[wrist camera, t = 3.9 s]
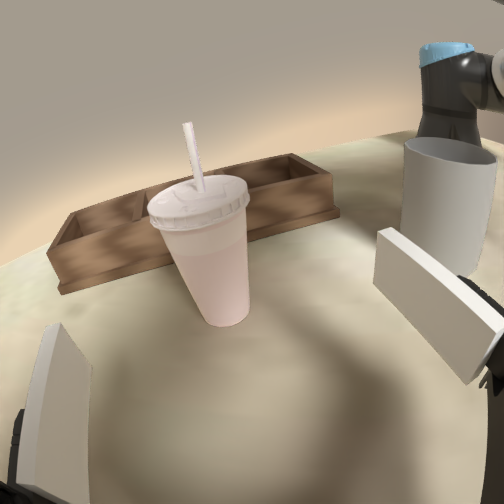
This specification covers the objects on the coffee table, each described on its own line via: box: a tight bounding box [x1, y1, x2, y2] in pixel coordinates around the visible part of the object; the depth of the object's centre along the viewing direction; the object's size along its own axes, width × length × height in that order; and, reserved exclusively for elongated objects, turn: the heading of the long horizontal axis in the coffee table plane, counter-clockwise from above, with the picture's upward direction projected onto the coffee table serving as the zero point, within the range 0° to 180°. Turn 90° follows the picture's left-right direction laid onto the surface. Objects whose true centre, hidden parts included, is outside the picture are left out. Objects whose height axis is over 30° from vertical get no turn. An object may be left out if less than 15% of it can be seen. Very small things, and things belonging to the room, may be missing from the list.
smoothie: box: [147, 122, 250, 327], centre depth 20 cm, size 6×6×14 cm
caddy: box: [46, 153, 340, 295], centre depth 34 cm, size 32×12×5 cm, turn 106°
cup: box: [399, 137, 498, 278], centre depth 22 cm, size 8×8×10 cm
